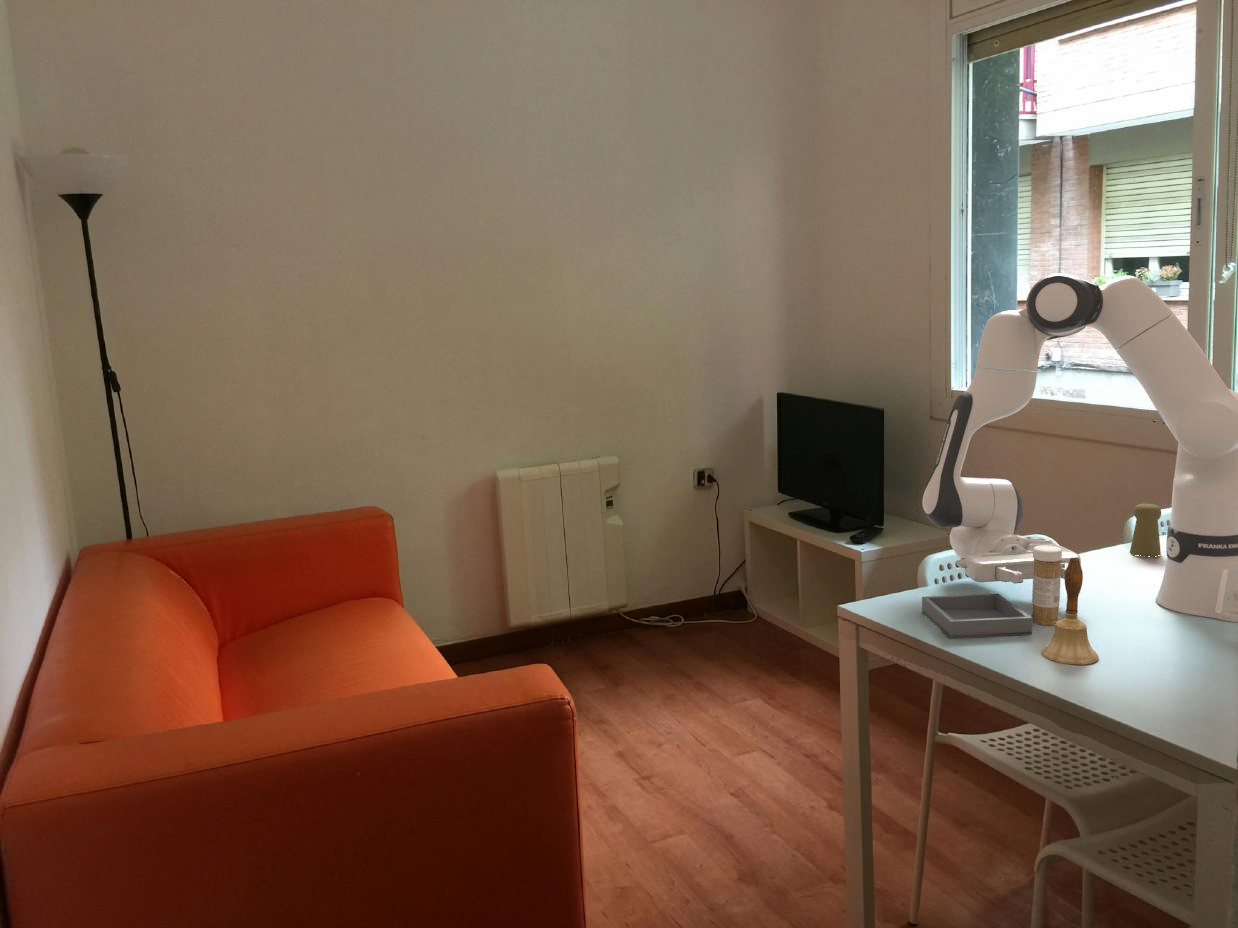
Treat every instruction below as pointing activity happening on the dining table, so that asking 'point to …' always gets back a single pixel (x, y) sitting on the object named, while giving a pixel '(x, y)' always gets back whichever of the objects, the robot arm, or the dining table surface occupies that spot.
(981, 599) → the box
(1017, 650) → the dining table surface
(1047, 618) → the sprinkles bottle
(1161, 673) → the dining table surface
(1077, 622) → the hand bell
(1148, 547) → the cork
